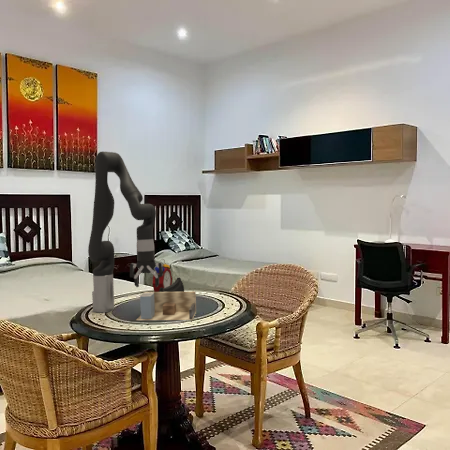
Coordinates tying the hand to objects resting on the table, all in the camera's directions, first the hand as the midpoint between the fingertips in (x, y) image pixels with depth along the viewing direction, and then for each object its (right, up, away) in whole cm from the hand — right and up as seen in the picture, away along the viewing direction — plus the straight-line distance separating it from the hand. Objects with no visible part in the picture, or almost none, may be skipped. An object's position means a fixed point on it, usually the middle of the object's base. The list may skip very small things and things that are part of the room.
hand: (147, 286), depth 194 cm
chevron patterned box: (+8, -14, +2) cm, 16 cm away
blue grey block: (0, -13, +1) cm, 13 cm away
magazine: (+7, -13, +31) cm, 34 cm away
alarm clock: (-2, -12, +53) cm, 55 cm away
